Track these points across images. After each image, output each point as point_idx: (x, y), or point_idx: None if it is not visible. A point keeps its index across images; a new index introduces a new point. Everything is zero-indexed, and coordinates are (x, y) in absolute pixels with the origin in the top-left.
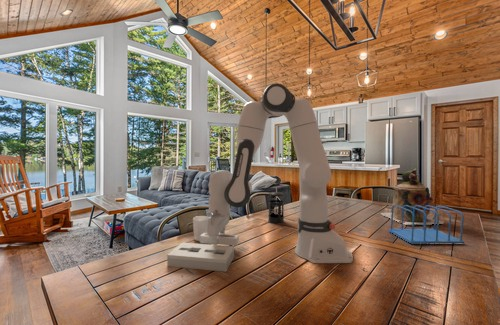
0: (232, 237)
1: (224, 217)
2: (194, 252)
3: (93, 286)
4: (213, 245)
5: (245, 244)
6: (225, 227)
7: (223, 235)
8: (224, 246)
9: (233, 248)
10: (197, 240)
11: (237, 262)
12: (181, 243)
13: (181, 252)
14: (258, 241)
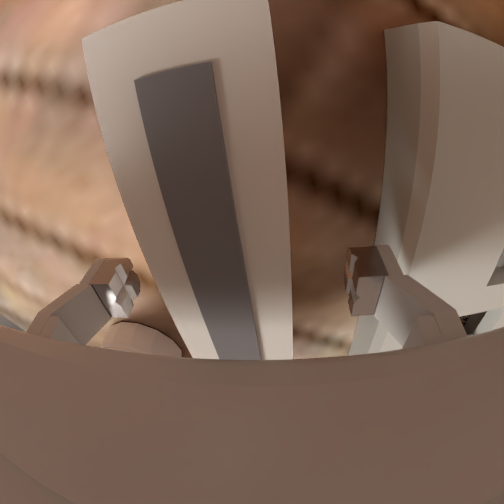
0: (236, 81)
1: (37, 497)
2: (501, 318)
3: None
4: (423, 264)
5: (68, 41)
6: (40, 312)
7: (212, 261)
8: (456, 145)
9: (459, 30)
10: (181, 355)
11: (462, 6)
12: None
13: None
14: (5, 8)
